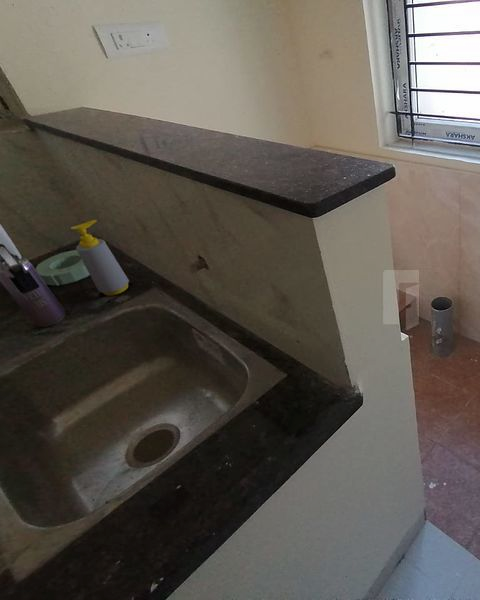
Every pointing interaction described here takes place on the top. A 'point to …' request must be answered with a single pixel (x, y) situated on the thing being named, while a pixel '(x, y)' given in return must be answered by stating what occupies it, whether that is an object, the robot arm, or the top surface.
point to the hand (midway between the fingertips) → (25, 284)
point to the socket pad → (62, 268)
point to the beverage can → (34, 298)
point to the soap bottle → (100, 262)
